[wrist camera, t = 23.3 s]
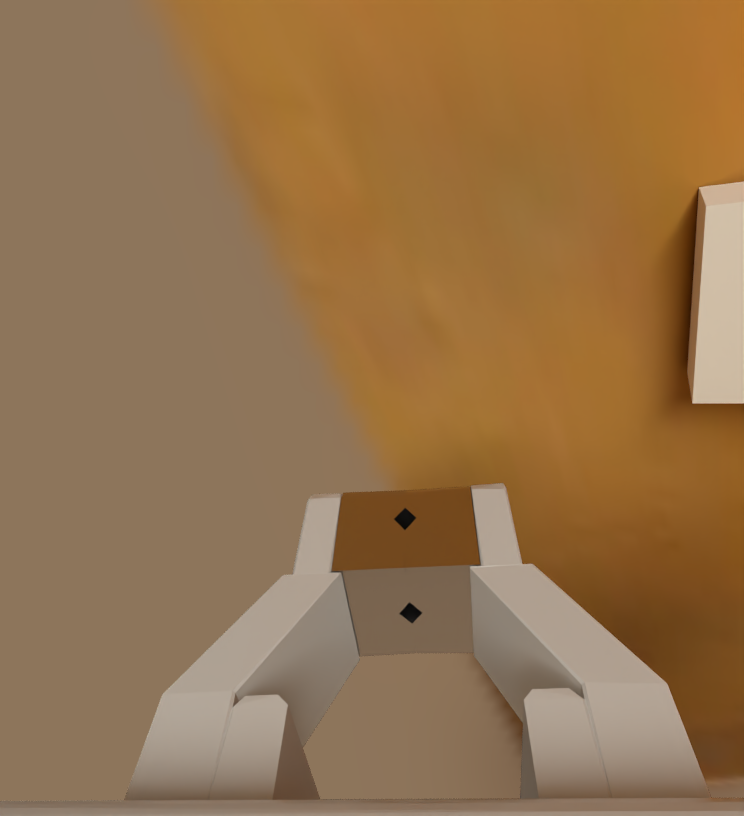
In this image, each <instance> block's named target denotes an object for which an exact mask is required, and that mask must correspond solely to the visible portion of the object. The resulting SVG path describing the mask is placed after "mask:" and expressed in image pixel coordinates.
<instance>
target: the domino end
mask: <svg viewBox="0 0 744 816" xmlns="http://www.w3.org/2000/svg"><path fill="white" fill-rule="evenodd" d="M687 374H688V380H689V386H690V392H691V398H692V403H744V182H737V183H729V184H721V185H713V186H705V187H699V194H698V210H697V226H696V241H695V257H694V273H693V289H692V305H691V321H690V337H689V353H688V369H687Z"/></svg>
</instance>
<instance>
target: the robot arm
mask: <svg viewBox="0 0 744 816" xmlns="http://www.w3.org/2000/svg"><path fill="white" fill-rule="evenodd" d="M407 653H474V656H475V658H476V659H477V661H478V662H479V663H480V665H481V666H482V667H483V669H484V670H485V672H486V673H487V674H488V676H489V677H490V678H491V680H492V681H493V683H494V684H495V685H496V687H497V688H498V690H499V691H500V692H501V694H502V695H503V696H504V698H505V699H506V701H507V702H508V703H509V705H510V706H511V707H512V709H513V710H514V712H515V713H516V714H517V716H518V717H519V718H520V720H521V721H522V723H523V735H522V763H521V791H520V799H333V800H332V799H330V800H327V799H326V800H320V797H319V795H318V792H317V788H316V785H315V783H314V780H313V777H312V774H311V771H310V768H309V765H308V762H307V759H306V756H305V753H304V750H303V747H304V745H305V744H306V742H307V741H308V739H309V737H310V736H311V734H312V733H313V731H314V730H315V728H316V727H317V725H318V724H319V722H320V721H321V719H322V717H323V716H324V714H325V713H326V711H327V710H328V708H329V707H330V705H331V704H332V702H333V700H334V699H335V697H336V696H337V694H338V693H339V691H340V689H341V688H342V687H343V685H344V683H345V681H346V680H347V679H348V677H349V676H350V674H351V673H352V671H353V669H354V668H355V666H356V665H357V663H358V662H359V660H360V658H359V656H371V655H372V656H373V655H390V654H407ZM0 816H744V798H712V797H711V795H710V792H709V790H708V787H707V785H706V782H705V780H704V777H703V774H702V772H701V769H700V767H699V764H698V762H697V759H696V756H695V754H694V751H693V749H692V746H691V744H690V741H689V738H688V736H687V733H686V731H685V728H684V726H683V723H682V720H681V718H680V715H679V713H678V710H677V708H676V705H675V702H674V700H673V697H672V695H671V692H670V690H669V687H668V684H667V683H666V682H665V681H664V680H663V679H661V678H660V677H659V676H658V675H657V674H656V673H655V672H654V671H652V670H651V669H650V668H649V667H648V666H647V665H646V664H645V663H644V662H642V661H641V660H640V659H639V658H638V657H637V656H636V655H635V654H633V653H632V652H631V651H630V650H629V649H628V648H627V647H626V646H624V645H623V644H622V643H621V642H620V641H619V640H618V639H617V638H615V637H614V636H613V635H612V634H611V633H610V632H609V631H608V630H606V629H605V628H604V627H603V626H602V625H601V624H600V623H599V622H598V621H596V620H595V619H594V618H593V617H592V616H591V615H590V614H589V613H587V612H586V611H585V610H584V609H583V608H582V607H581V606H580V605H578V604H577V603H576V602H575V601H574V600H573V599H572V598H571V597H569V596H568V595H567V594H566V593H565V592H564V591H563V590H562V589H560V588H559V587H558V586H557V585H556V584H555V583H554V582H553V581H552V580H550V579H549V578H548V577H547V576H546V575H545V574H544V573H543V572H541V571H540V570H539V569H538V568H537V567H536V566H535V565H534V564H522V560H521V555H520V551H519V546H518V541H517V537H516V532H515V527H514V523H513V518H512V513H511V509H510V504H509V499H508V495H507V490H506V487H505V485H504V484H503V483H497V484H484V485H472V486H470V487H469V486H466V487H451V488H436V489H421V490H405V491H377V492H350V493H343V494H341V493H339V494H313V495H311V497H310V498H309V500H308V501H307V506H306V511H305V516H304V521H303V525H302V530H301V535H300V540H299V545H298V550H297V554H296V559H295V564H294V569H293V574H292V575H282V576H281V577H280V578H279V579H278V580H277V581H276V582H275V583H274V584H273V585H272V586H271V587H270V588H269V589H268V590H267V591H266V592H265V593H264V594H263V595H262V596H261V597H260V598H259V599H258V600H257V601H256V602H255V603H254V604H253V605H252V606H251V607H250V608H249V609H248V610H247V611H246V612H245V613H244V614H243V615H242V616H241V617H240V618H239V619H238V620H237V621H236V622H235V623H234V624H233V625H232V626H231V627H230V628H229V629H228V630H227V631H226V632H225V633H224V634H223V635H222V636H221V637H220V638H219V639H218V640H217V641H216V642H215V643H214V644H213V645H212V646H211V647H210V648H209V649H208V650H207V651H206V652H205V653H204V654H203V655H202V656H201V657H200V658H199V659H198V660H197V661H196V662H195V663H194V664H193V665H192V666H191V667H190V668H189V669H188V670H186V671H185V672H184V673H183V674H182V675H181V676H180V677H179V679H178V680H177V681H175V682H174V683H173V684H172V685H171V686H170V687H169V688H168V689H167V690H166V691H165V692H164V693H163V695H162V697H161V700H160V703H159V705H158V708H157V711H156V714H155V716H154V719H153V722H152V725H151V727H150V730H149V733H148V736H147V738H146V742H145V744H144V747H143V749H142V752H141V755H140V758H139V761H138V763H137V766H136V769H135V771H134V774H133V777H132V780H131V782H130V785H129V788H128V791H127V793H126V796H125V799H124V800H121V801H118V800H117V801H115V800H113V801H112V800H110V801H109V800H108V801H0Z"/></svg>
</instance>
